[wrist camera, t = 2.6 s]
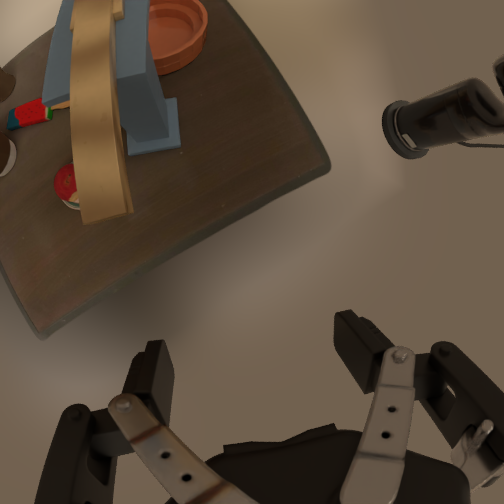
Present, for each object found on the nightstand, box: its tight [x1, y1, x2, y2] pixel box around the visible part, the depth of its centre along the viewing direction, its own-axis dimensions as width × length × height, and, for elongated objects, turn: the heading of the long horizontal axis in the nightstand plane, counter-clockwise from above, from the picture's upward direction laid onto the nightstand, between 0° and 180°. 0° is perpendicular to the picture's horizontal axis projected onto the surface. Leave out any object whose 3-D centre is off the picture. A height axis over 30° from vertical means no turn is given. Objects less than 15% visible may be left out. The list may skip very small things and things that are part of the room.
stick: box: [70, 0, 134, 225], centre depth 11 cm, size 18×4×2 cm, turn 12°
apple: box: [54, 162, 80, 209], centre depth 34 cm, size 8×8×6 cm
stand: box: [42, 0, 181, 156], centre depth 25 cm, size 12×8×28 cm, turn 8°
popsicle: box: [7, 98, 70, 130], centre depth 33 cm, size 4×2×15 cm
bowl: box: [148, 0, 207, 75], centre depth 33 cm, size 16×16×6 cm
